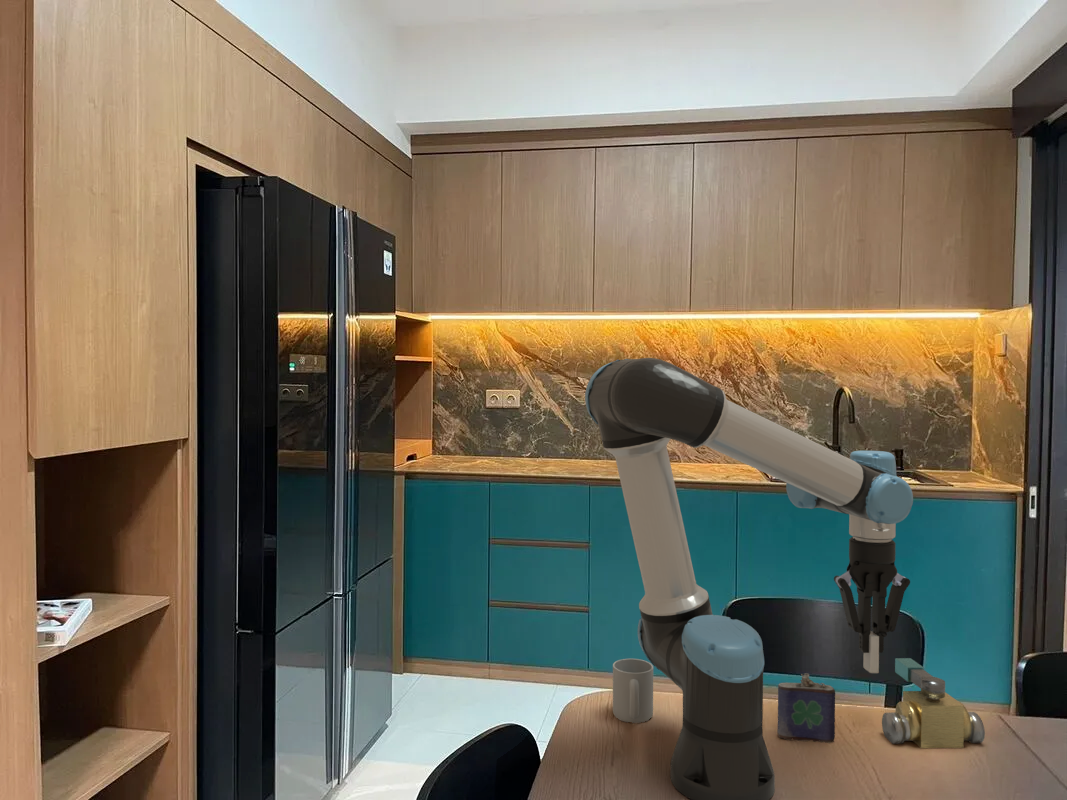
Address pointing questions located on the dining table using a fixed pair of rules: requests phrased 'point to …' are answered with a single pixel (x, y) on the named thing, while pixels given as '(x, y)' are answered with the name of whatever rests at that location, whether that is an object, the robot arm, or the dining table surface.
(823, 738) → the flask
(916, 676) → the lever
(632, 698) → the cup
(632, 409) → the robot arm
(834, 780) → the dining table surface
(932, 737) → the pipe valve
